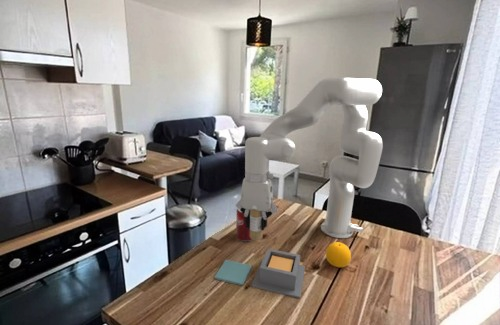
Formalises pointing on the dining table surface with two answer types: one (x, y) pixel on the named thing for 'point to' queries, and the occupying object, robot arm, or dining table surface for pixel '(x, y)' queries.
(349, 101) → the robot arm
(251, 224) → the sprinkles bottle
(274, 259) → the button
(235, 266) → the teal mat
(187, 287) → the dining table surface
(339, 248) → the orange citrus fruit
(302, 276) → the frame
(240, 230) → the soda can
